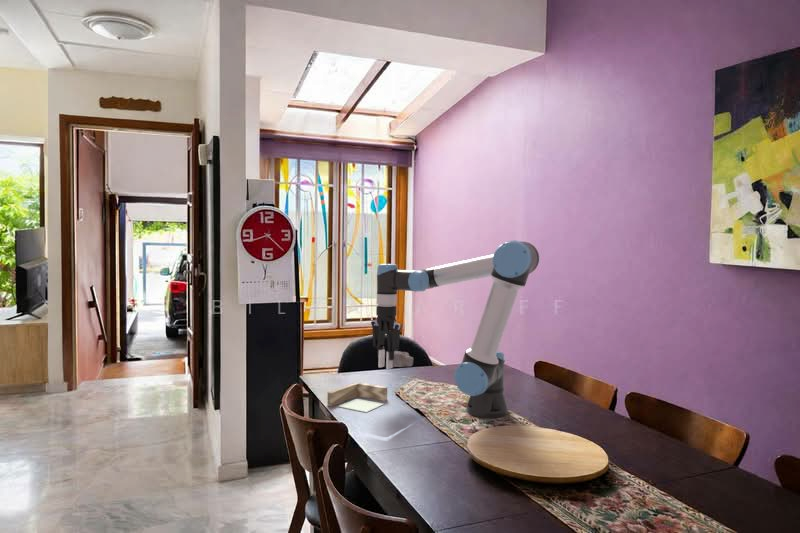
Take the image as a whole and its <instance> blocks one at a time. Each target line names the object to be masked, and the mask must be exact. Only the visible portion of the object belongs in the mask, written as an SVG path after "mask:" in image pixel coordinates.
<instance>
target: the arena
mask: <svg viewBox="0 0 800 533" xmlns="http://www.w3.org/2000/svg"><path fill="white" fill-rule="evenodd" d="M356 397H361V398H367V399H371V400H377V401H378V400H379V401H382V402H385V401H387V400H388V387H387V386H383V385H377V384H376V385H375V384H372V383H371V384H370V383H365V382H352V383H349V384H347V385H344V386H341V387H339V388H336V389H333V390H330V391H328V392H327V406H330V407H333V406H335V405H338V404H341V403H343V402H346V401H349V400H351V399H353V398H356Z"/></svg>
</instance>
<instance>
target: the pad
mask: <svg viewBox="0 0 800 533" xmlns="http://www.w3.org/2000/svg"><path fill="white" fill-rule="evenodd" d="M384 405H385V403H381V402H377V401H372V400H371V401H370V400H366V399H361V398H355V399H352V400H350V401H349V400H348V401H347V402H344V403H342V404H339V405H337V408H341V409H345V410H346V409H347V410H351V411H357V412H361V413H367V414H368V413H369V412H371V411H373V410H376V409H378V408H380V407H381V406H384Z"/></svg>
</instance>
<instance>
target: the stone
mask: <svg viewBox="0 0 800 533" xmlns="http://www.w3.org/2000/svg"><path fill="white" fill-rule="evenodd" d="M413 365H414V357H413V356H410V354H409V352H407V351H401V350H399V351H398V350H395V351H394V360H393V367H392V368H395V367H396V368H397V367H398V368H405V367H412V366H413Z"/></svg>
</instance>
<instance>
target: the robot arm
mask: <svg viewBox="0 0 800 533" xmlns="http://www.w3.org/2000/svg"><path fill="white" fill-rule="evenodd" d="M539 263H540V253H539V251H538V249H537V248H536V246H535V245H533V244H532V243H530V242H527V241H519V240H509V241H506V242H504V243H501V244H500V245H499V246H498V247H497V248H496V249H495V251H494V253H493V254H489V255H483V256H479V257H475V258H470V259H467V260H466V259H465V260H461V261H457V262H452V263H446V264H443V265H439V266H434V267H430V268H424V269H399V268H398V265H397V264H395V263H380V264H378V266H377V268H376V270H377V272H376V304H377V306H376V310H375V311H376V312H375V313H376V316H377V318H376V319H375V320H372V321H370V324H371V327H372V345H373V346H372V347H373V348H375V349H376V350H377V353H376V354H377V355H376V356H377V358H378V362H377V363H378V364H377V365H378V368H383V367H385V369H386V370H390V369H393V368H394V367H393V360H394V351H398V350H399V349H400V336H401V329H402V328H403V326H402V325H403V324H402V323H398V322H397V319H396V316H397V312H398V311H397V300H398V299H397V297H398V291H409V292H414V293H417V292H424V291H426V290H429V289H433V288H437V287H442V286H448V285H452V284H456V283H457V284H458V283H462V282H467V281H472V280H478V279H483V278H488V277H491V279H492V281H493V283H492V286H491V289H490V292H489V294H488V297H487V300H486V303H485V305H484V309H483V313H482V314H481V315H482V316H481V318H480V321H479V324H478V327H477V331H476V333H475V336H474V339H473V342H472V346H470V347H467V349H465V352H464V354H463V358H462V361H461V363H460V364H458V366H457V367H456V368H455V370H454V374H453V380H454V382H455V384H456V387H457V388H458V390H459V391H460V392H462V393H463V394H465V395H466V396H469V397H468V401H467V403H466V413H467V414H469V415H470V416H473V417H476V418H482V419H500V418H503V417H505V416H508V414H509V405H508V403H507V402H508V401H507V399H506V396H505V395H506V394H505V391H504V390H505V362H506V360H505V354H504V353H503V352H502V351H501V350H500V351H499V348H500V345H501V343H502V339H503V336H504V334H505V333H504V332H505V329H506V327H507V324H508V321H509V319H510V316H511V313H512V311H513V308H514V304H515V301H516V298H517V295H518V293H519V290H521V289H522V288H525V286H526V283H527V281H528V278H529V275H530V274H531V273H533V272H534V271H536V269H537V268H538V266H539ZM385 338H386V340H387V350H386V349H385V347H384V346H385ZM385 358H386V361H385Z"/></svg>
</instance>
